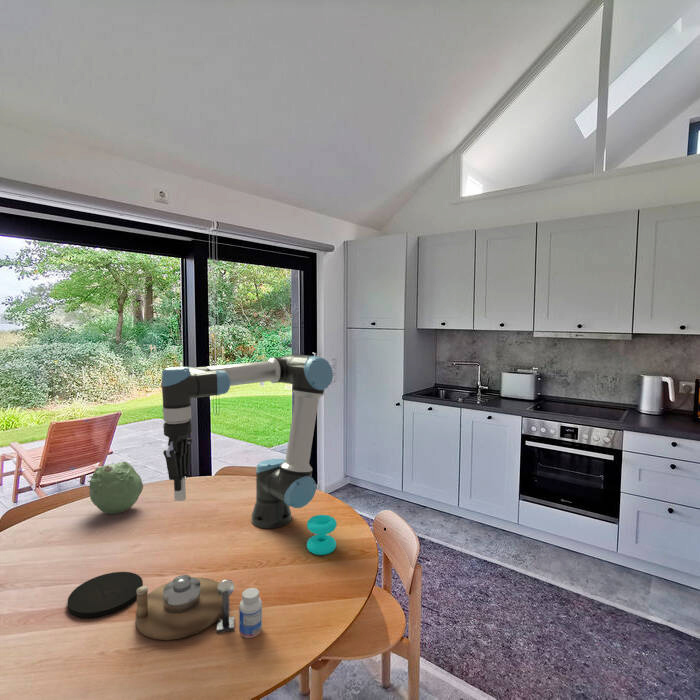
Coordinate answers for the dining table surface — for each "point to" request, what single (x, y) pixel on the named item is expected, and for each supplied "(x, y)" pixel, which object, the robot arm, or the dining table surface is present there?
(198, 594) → the cover
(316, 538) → the donuts
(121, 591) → the wireless charger
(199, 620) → the turntable
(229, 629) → the dial post
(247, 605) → the pill bottle
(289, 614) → the dining table surface
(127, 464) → the cabbage
